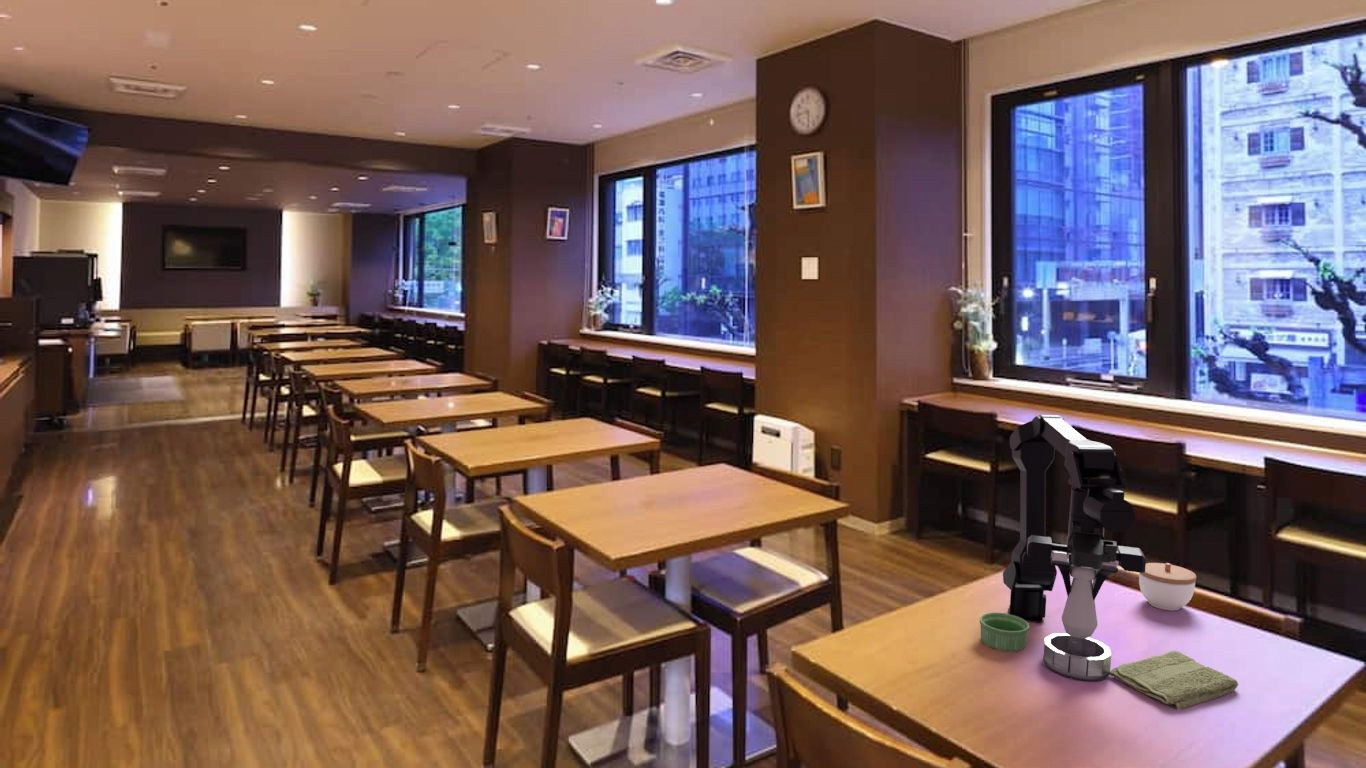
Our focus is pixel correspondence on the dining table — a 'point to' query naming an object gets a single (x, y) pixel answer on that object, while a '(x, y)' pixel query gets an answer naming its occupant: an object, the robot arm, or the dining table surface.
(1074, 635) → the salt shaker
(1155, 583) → the lidded jar
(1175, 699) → the washcloth
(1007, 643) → the ramekin
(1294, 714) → the dining table surface
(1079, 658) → the faceted metal bowl
